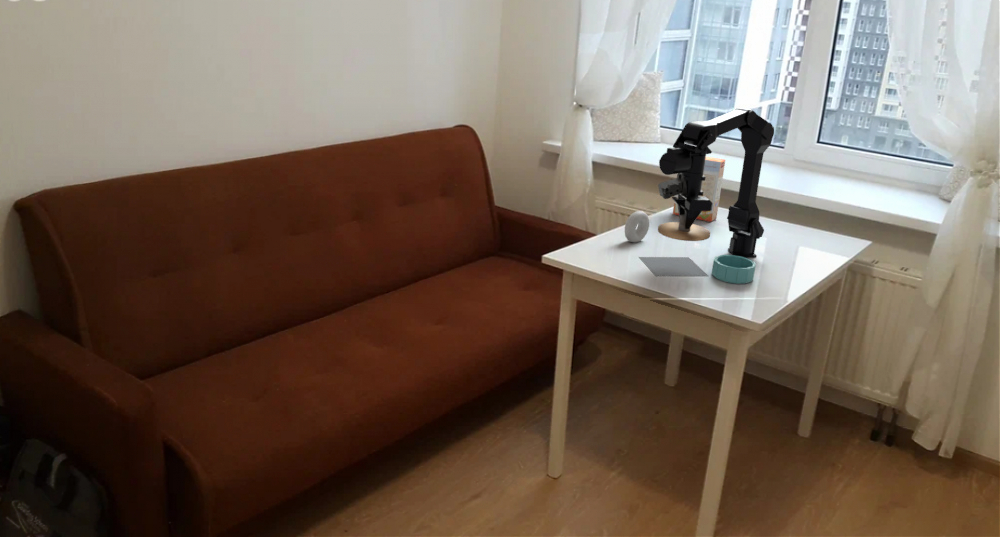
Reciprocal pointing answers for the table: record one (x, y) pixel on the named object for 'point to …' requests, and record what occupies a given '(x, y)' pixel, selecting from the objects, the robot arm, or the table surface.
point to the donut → (631, 224)
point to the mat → (672, 266)
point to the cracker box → (710, 187)
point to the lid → (683, 231)
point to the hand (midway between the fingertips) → (684, 226)
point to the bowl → (733, 269)
